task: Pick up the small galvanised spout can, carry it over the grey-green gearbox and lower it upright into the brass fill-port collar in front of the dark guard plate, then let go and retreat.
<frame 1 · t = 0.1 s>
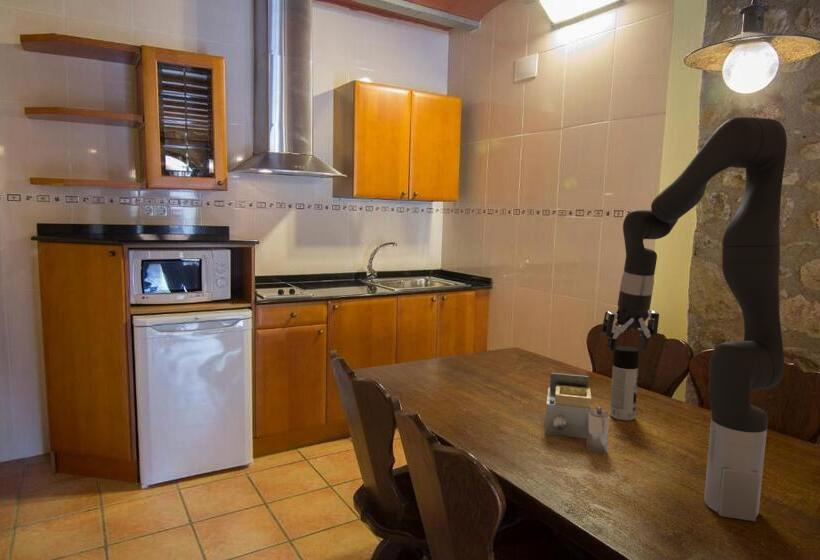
hand: (626, 350, 136), 22 cm above the table, tool pointing down, fingers open, 8 cm apart
gearbox: (567, 426, 144), on the table
spray can: (622, 417, 151), on the table
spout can: (596, 449, 129), on the table
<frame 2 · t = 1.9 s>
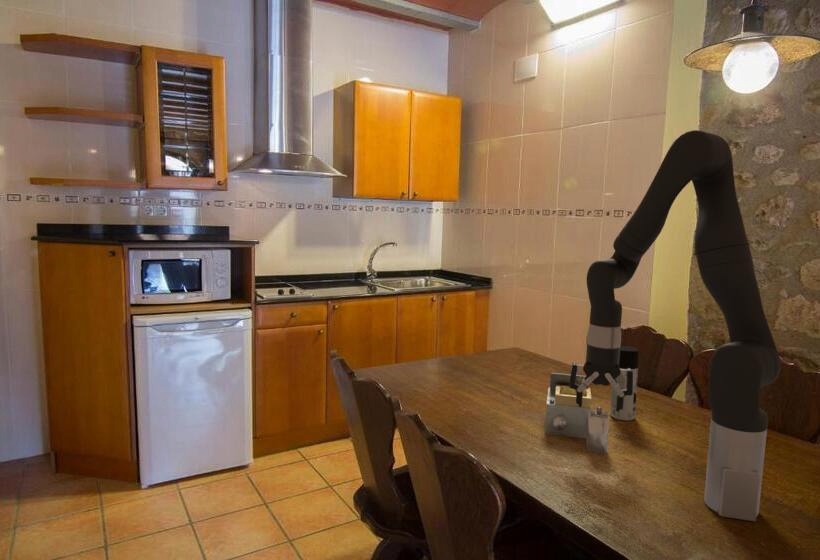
hand: (598, 408, 128), 10 cm above the table, tool pointing down, fingers open, 8 cm apart
nothing on the table moved.
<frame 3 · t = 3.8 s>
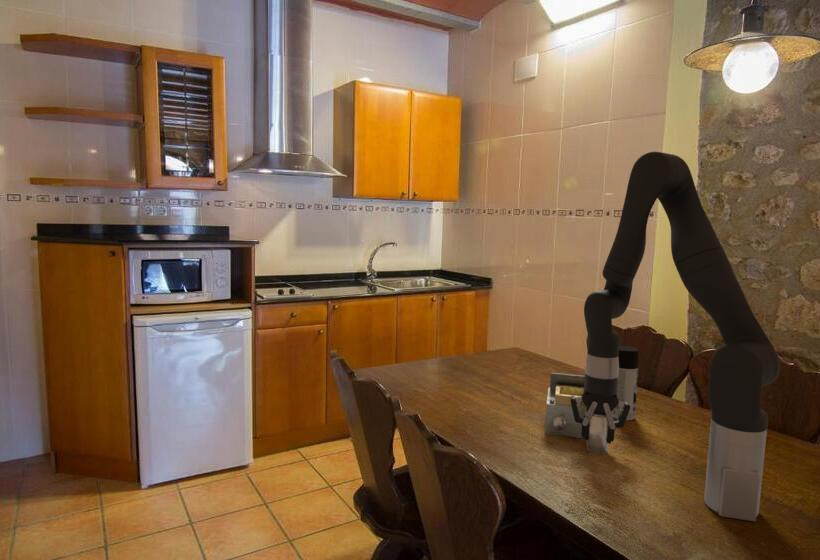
hand: (597, 440, 129), 2 cm above the table, tool pointing down, fingers closed on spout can, 4 cm apart
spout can: (596, 449, 129), on the table, touching gripper
everything else where it was.
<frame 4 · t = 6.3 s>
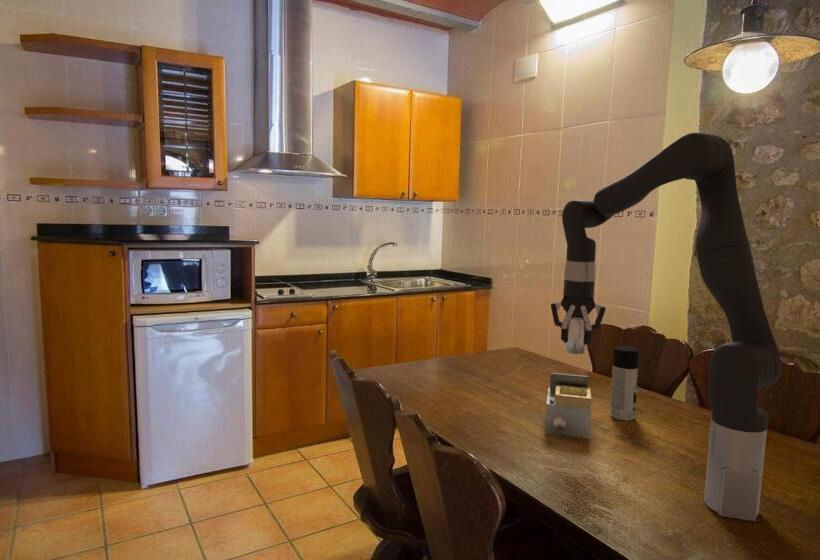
hand: (575, 342, 138), 24 cm above the table, tool pointing down, fingers closed on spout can, 4 cm apart
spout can: (574, 351, 139), point 21 cm above the table, touching gripper
everything else where it was.
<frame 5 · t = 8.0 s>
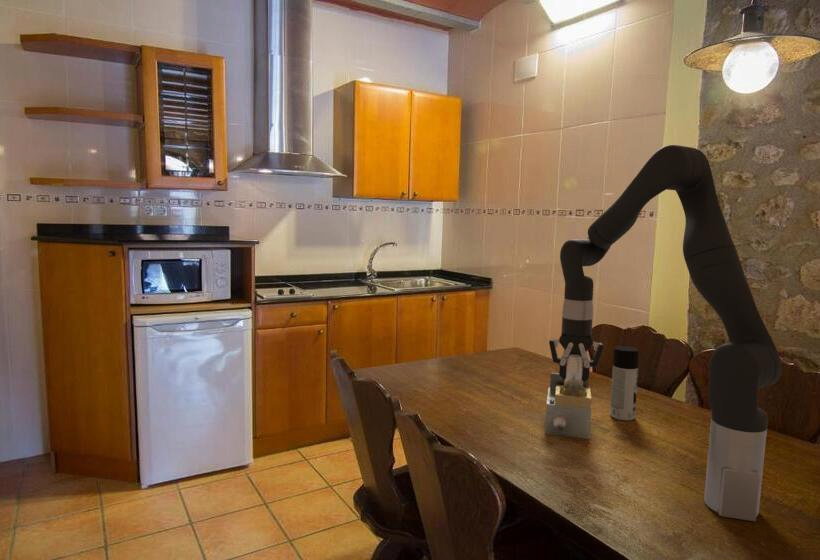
hand: (573, 379, 140), 14 cm above the table, tool pointing down, fingers closed on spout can, 4 cm apart
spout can: (573, 388, 140), point 11 cm above the table, touching gripper
everything else where it was.
when the fingers open (12 cm above the table, at t = 9.3 s): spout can drops 1 cm, resting on gearbox.
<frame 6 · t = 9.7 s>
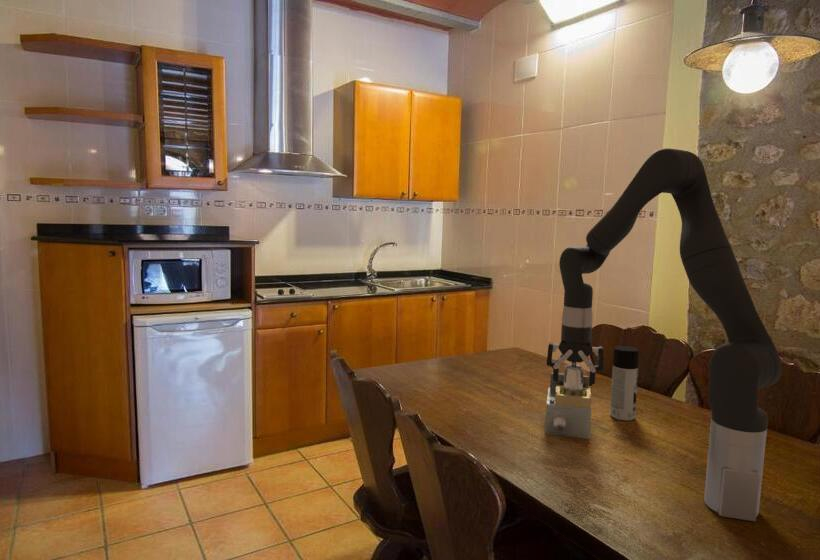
hand: (573, 383, 140), 13 cm above the table, tool pointing down, fingers open, 8 cm apart
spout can: (572, 400, 140), point 8 cm above the table, touching gearbox
everything else where it was.
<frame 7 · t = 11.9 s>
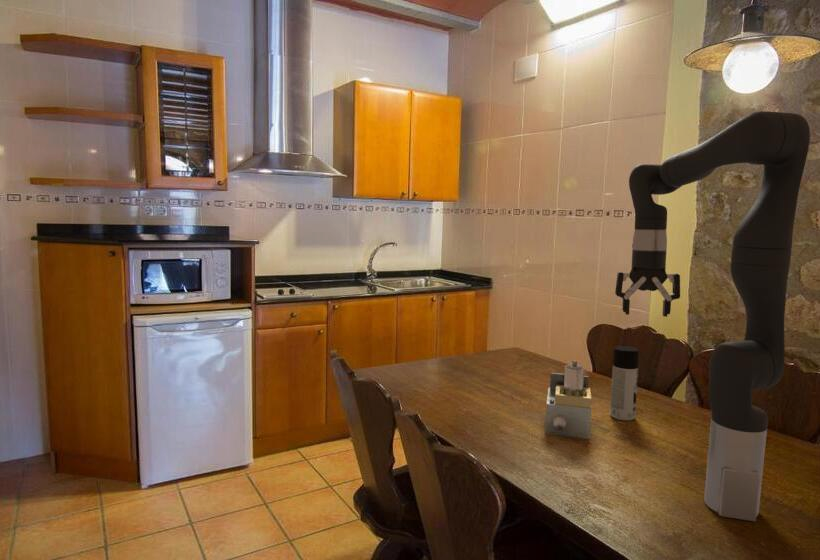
hand: (645, 315, 129), 33 cm above the table, tool pointing down, fingers open, 8 cm apart
nothing on the table moved.
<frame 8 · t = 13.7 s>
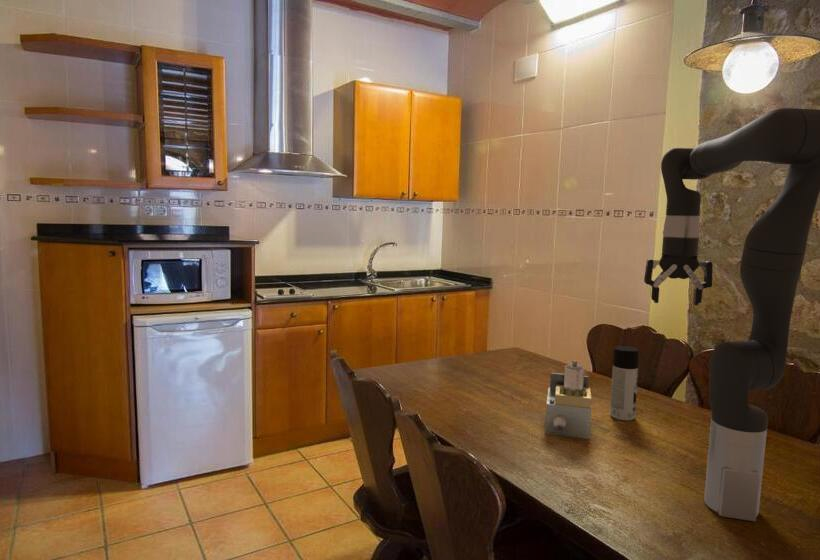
hand: (675, 303, 126), 36 cm above the table, tool pointing down, fingers open, 8 cm apart
nothing on the table moved.
at the end: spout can 0.0 cm from the target spot on the gearbox, point 8.0 cm above the gearbox's base; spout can tilted 0°; the gripper is holding nothing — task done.
